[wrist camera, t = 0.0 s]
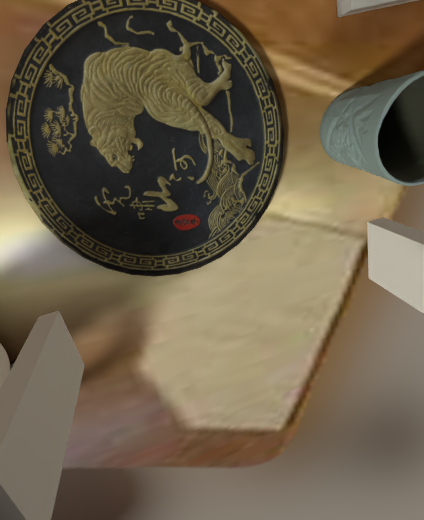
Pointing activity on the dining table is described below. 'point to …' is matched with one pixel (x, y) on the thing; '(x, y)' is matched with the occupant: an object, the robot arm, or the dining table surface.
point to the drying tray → (365, 5)
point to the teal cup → (379, 129)
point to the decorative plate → (144, 133)
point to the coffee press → (4, 365)
